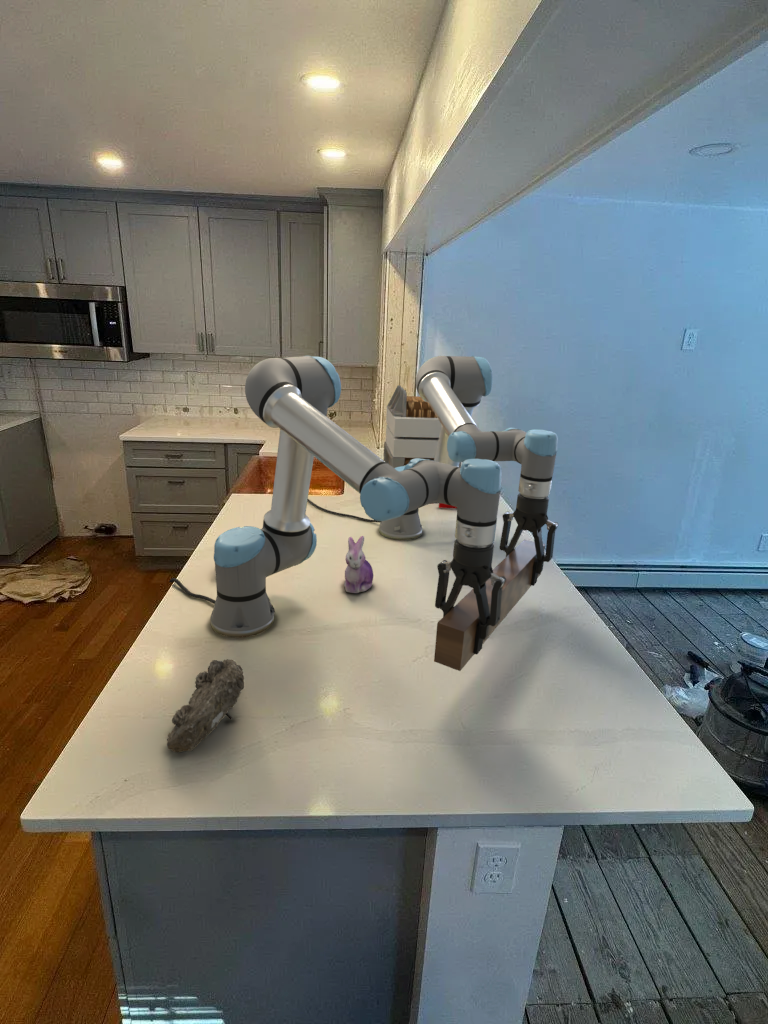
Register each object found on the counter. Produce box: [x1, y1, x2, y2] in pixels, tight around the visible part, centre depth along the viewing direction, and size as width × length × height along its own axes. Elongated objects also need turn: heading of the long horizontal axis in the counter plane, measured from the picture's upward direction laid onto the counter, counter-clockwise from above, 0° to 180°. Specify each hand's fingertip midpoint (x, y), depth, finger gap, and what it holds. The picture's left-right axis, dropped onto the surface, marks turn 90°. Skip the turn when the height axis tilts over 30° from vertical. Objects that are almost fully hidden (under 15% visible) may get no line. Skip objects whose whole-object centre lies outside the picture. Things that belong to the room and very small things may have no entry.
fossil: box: [166, 658, 245, 754], centre depth 106 cm, size 22×10×15 cm
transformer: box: [383, 384, 462, 468], centre depth 268 cm, size 34×33×41 cm
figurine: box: [343, 535, 374, 594], centre depth 158 cm, size 9×10×15 cm
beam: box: [433, 538, 546, 672], centre depth 129 cm, size 52×6×9 cm, turn 149°
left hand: (463, 645), depth 116 cm, fingers closed on beam, 6 cm apart
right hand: (521, 579), depth 146 cm, fingers closed on beam, 6 cm apart
